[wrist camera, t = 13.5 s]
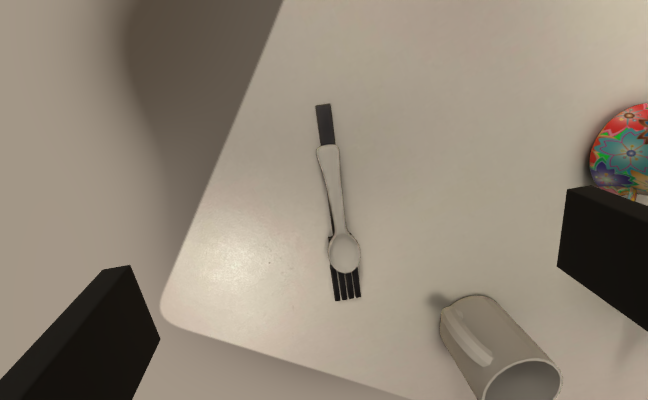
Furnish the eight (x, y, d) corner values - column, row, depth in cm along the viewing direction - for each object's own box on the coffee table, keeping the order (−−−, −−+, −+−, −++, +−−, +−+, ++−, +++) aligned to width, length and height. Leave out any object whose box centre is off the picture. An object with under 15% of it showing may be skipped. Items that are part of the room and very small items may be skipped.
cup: (467, 357, 39) (516, 433, 30) (406, 316, 36) (442, 388, 27) (513, 314, 37) (579, 381, 29) (454, 268, 34) (507, 328, 26)
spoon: (330, 270, 32) (332, 280, 30) (308, 147, 29) (309, 149, 27) (360, 264, 32) (365, 274, 30) (342, 140, 29) (345, 143, 27)
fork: (306, 106, 28) (307, 107, 27) (337, 102, 28) (338, 102, 27) (334, 298, 34) (335, 301, 34) (360, 294, 34) (361, 297, 34)
